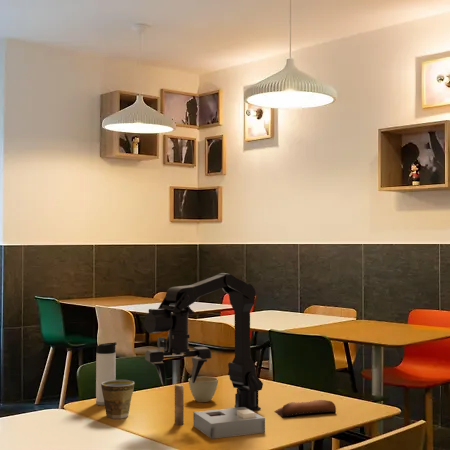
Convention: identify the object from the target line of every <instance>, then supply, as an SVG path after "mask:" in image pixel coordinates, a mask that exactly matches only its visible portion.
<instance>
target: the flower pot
mask: <svg viewBox="0 0 450 450" xmlns="http://www.w3.org/2000/svg"><path fill="white" fill-rule="evenodd" d="M187 382H188V385H189V389H190V392H191V394H192V397H193V398H194V400H195V402H197V403H208V402H211V401H212V399H213V397H214V396H215V393H216V391H217V388H218V382H219V379H218V378H217V377H215V376H197V378H196V381H195V383H192V377H190V378H188V380H187Z"/></svg>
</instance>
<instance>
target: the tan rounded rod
mask: <svg viewBox="0 0 450 450" xmlns="http://www.w3.org/2000/svg"><path fill="white" fill-rule="evenodd" d="M184 390H185V387H184V385H183V384H175V385H174V425H176V426H180V425H184V419H185V418H184V416H185V415H184V413H185V411H184V410H185V409H184V403H185V402H184V397H185V395H184V393H185V392H184Z"/></svg>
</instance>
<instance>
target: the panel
mask: <svg viewBox="0 0 450 450" xmlns="http://www.w3.org/2000/svg"><path fill="white" fill-rule="evenodd" d="M246 409H247V408H245V407H238V408H236V407H229V408H222V409H209V410H202V411H200V410H199V411H193V424H192V425H193V427H194V428H196V429H197V430H199V432H201V433H203V434H204V435H205V436H207V437H208V438H210V439H212V440H213V439H220V438H230V437H236V436H237V437H238V436H245V435H253V434H254V435H255V434H263V433H266V418H265V417H264V416H262V415H260V414H258V413H256V412H255V411H254V410H251V411H252V412H254V413H255V418H248V419H242V418H240V417H238V416H237V410H246Z"/></svg>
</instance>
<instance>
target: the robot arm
mask: <svg viewBox="0 0 450 450" xmlns="http://www.w3.org/2000/svg"><path fill="white" fill-rule="evenodd" d="M221 289H222V291H223V292H224V293H226V294H227V295H228V299H229V304H230V306H231V308H232V310H233V311H234V312H233V313H234V357H233V360H232V361H231V362H228V365H227V367H228V373H227V376H229V380H230V381H231V384H232V387H233V389H236V393H235V394H234V395H235V396H234V397H235V398H234V401H235V402H234V408H238V407H245V408H247V409H249V410H251V411H257V410H261V407H260V406H259V391H262V390H263V386H264V382H263V381H262V380H261V379H260V378H259V376H257V371H256V365H255V363H254V361H253V359H252V356H251V311H252V310H253V307H254V305H255V301H256V293H257V292H256V288H255V287H254V286H253V285H252V284H250V283H247V282H245V281H243V280H242V279H239V278H237V277H235V276H234V275H233V274H231V273H228V272H227V273H225V272H221V273H218V274H216V275H213V276H212V277H208V278H206V279H205V278H204V279H203V280H200V281H198V282H195V283H193V284H189V285H179V286H171V287H169V288H168V289H167V290H166V293H165V296H164V298H163V299H162V301H161V303H160V305H159V307H158V308H156V309H155V308H149V309H148V313H147V314H146V315H145V317H144V318H145V319H144V320H143V326H144V329H145V331H146V332H147V333H148V334H157V333H159V334H160V333H166V332H168V333H167V336H166V337H167V338H165V336H159V337H157V349H147V350H146V351H145V352H144V355H145V356H144V360H145V361H147V362H148V363H150V364H152V365H153V366H154V367H155V368H156V370H157V374H158V376H159V379H160V382H161V385H162V386H163V387H164V386H165V385H166V367H165V364H166V363H165V362H163V360H164V359H175V358H176V359H177V358H191V361H192V362H191V363H192V371H191V378H192V383H195V381H196V378H197V377H199V376H198V375H199V373H200V371H201V369H202V367H203V366H204V363H207V362H208V359H212V351H211V349H210V347H209V348H208V347H207V346H195V347H193V348H192V350H191V349H190V348H189V339H190V333H189V316H190V315H194V314H195V311H194V310H193V309H192V308H191V307H190V306H191V305H193V304H195V302H196V301H197V299H199V298H201V297H203V296H206V295H208V294H211V293H213V292H217V291H219V290H221ZM161 349H163V351H162V350H161Z"/></svg>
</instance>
